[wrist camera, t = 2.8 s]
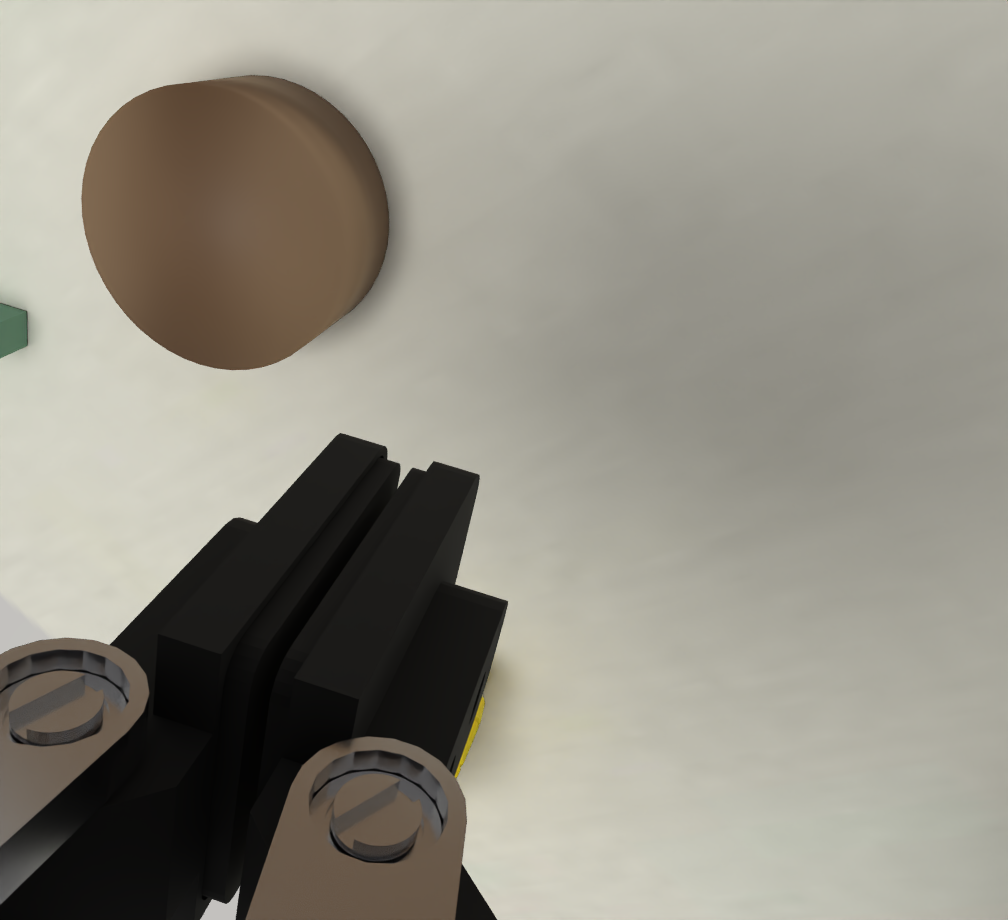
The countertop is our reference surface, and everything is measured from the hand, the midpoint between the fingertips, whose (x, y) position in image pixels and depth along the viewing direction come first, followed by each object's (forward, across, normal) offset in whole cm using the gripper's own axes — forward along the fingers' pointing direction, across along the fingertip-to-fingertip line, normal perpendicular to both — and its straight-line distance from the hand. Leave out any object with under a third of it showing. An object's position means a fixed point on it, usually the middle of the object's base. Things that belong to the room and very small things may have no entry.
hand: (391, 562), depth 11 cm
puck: (+12, +7, 0) cm, 14 cm away
